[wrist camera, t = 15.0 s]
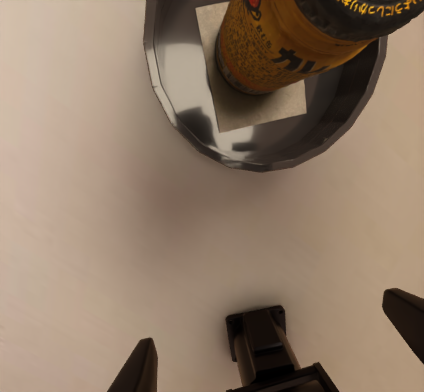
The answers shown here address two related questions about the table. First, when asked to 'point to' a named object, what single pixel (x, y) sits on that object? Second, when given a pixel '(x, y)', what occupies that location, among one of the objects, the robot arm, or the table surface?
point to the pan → (261, 133)
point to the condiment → (285, 49)
